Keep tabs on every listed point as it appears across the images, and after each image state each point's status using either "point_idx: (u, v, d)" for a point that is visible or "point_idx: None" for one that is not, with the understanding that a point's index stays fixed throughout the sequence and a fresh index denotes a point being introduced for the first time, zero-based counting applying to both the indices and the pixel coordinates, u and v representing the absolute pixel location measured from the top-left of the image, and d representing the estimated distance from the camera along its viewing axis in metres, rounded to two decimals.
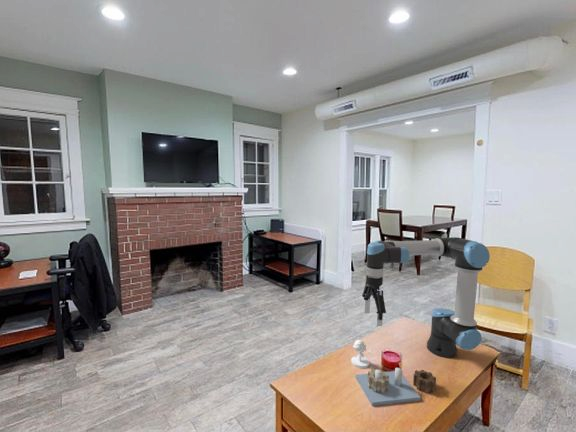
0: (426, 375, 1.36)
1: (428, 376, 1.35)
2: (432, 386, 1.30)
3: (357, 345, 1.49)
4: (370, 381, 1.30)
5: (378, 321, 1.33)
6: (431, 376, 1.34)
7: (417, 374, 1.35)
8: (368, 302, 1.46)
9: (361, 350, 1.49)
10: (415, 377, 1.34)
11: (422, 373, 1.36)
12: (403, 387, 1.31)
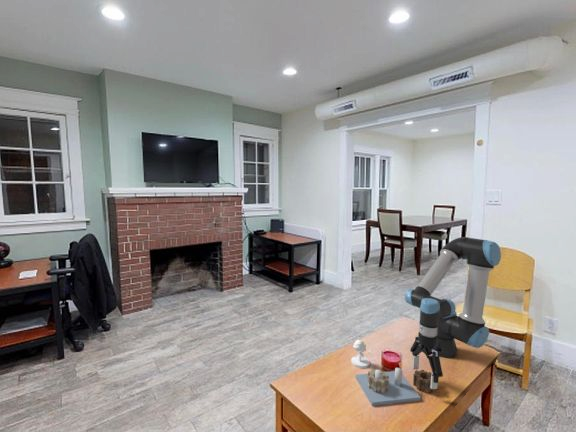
0: (426, 375, 1.36)
1: (428, 376, 1.35)
2: None
3: (357, 345, 1.49)
4: (370, 381, 1.30)
5: (433, 384, 1.26)
6: None
7: (417, 374, 1.35)
8: (417, 358, 1.40)
9: (361, 350, 1.49)
10: (415, 377, 1.34)
11: (422, 373, 1.36)
12: (403, 387, 1.31)
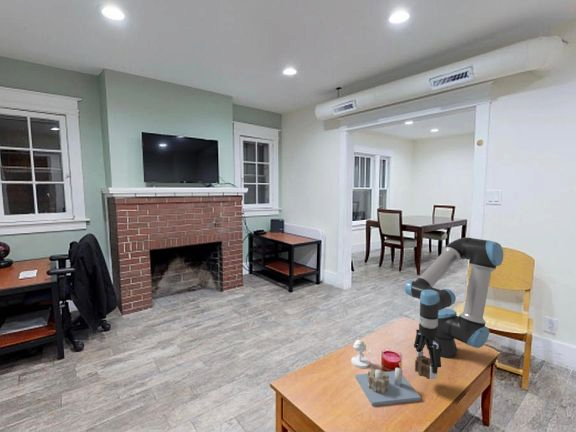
0: (428, 361, 1.35)
1: (429, 362, 1.35)
2: None
3: (357, 345, 1.49)
4: (370, 381, 1.30)
5: (432, 374, 1.29)
6: None
7: (419, 360, 1.35)
8: (421, 354, 1.38)
9: (361, 350, 1.49)
10: (417, 363, 1.34)
11: (424, 359, 1.36)
12: (403, 387, 1.31)
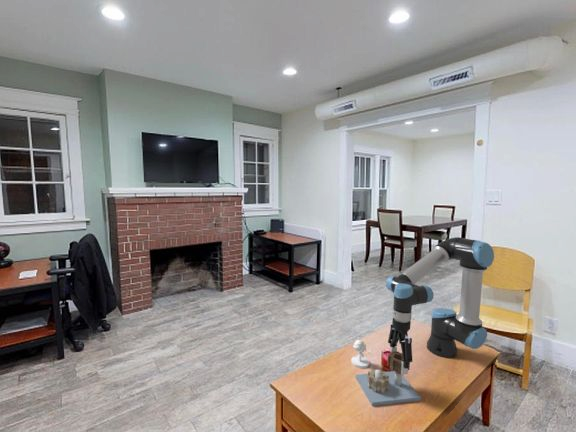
0: (400, 356, 1.34)
1: (402, 358, 1.33)
2: None
3: (357, 345, 1.49)
4: (370, 381, 1.30)
5: (403, 369, 1.27)
6: None
7: (391, 355, 1.33)
8: (395, 349, 1.36)
9: (361, 350, 1.49)
10: (389, 358, 1.32)
11: (397, 354, 1.34)
12: (403, 387, 1.31)
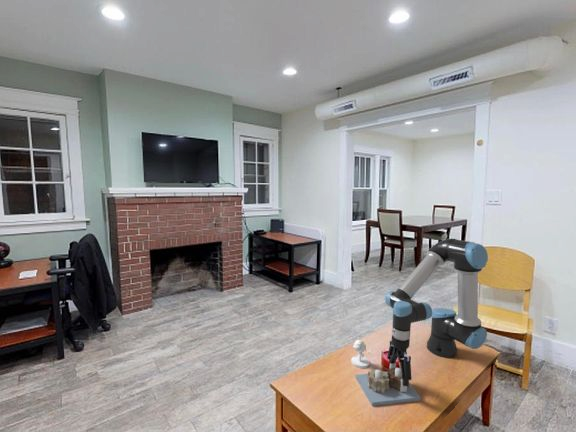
0: None
1: None
2: None
3: (357, 345, 1.49)
4: (370, 381, 1.30)
5: (403, 387, 1.28)
6: None
7: (390, 372, 1.34)
8: (394, 366, 1.37)
9: (361, 350, 1.49)
10: None
11: None
12: None
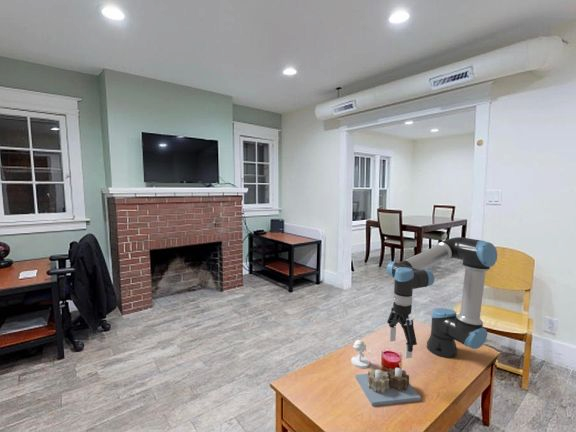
0: None
1: None
2: (405, 384, 1.29)
3: (357, 345, 1.49)
4: (370, 381, 1.30)
5: (408, 353, 1.24)
6: (404, 374, 1.32)
7: (390, 372, 1.34)
8: (394, 329, 1.37)
9: (361, 350, 1.49)
10: None
11: None
12: None
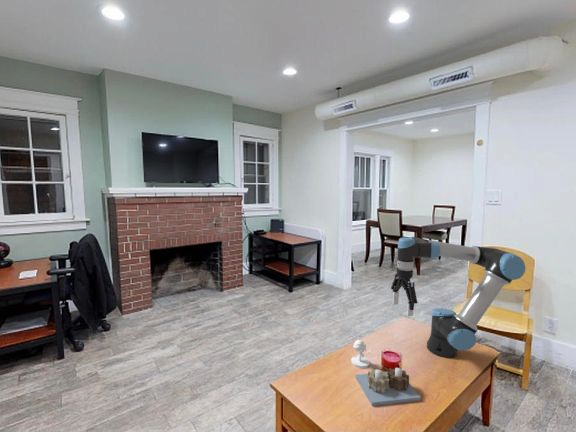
0: None
1: None
2: (405, 384, 1.29)
3: (357, 345, 1.49)
4: (370, 381, 1.30)
5: (409, 311, 1.41)
6: (404, 374, 1.32)
7: (390, 372, 1.34)
8: (397, 294, 1.55)
9: (361, 350, 1.49)
10: None
11: None
12: None
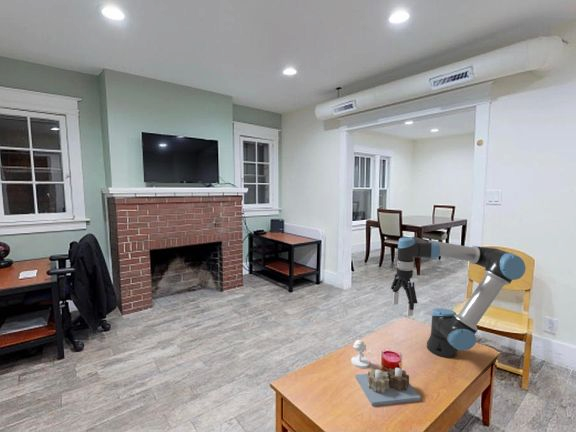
0: None
1: None
2: (405, 384, 1.29)
3: (357, 345, 1.49)
4: (370, 381, 1.30)
5: (409, 311, 1.41)
6: (404, 374, 1.32)
7: (390, 372, 1.34)
8: (397, 294, 1.55)
9: (361, 350, 1.49)
10: None
11: None
12: None
